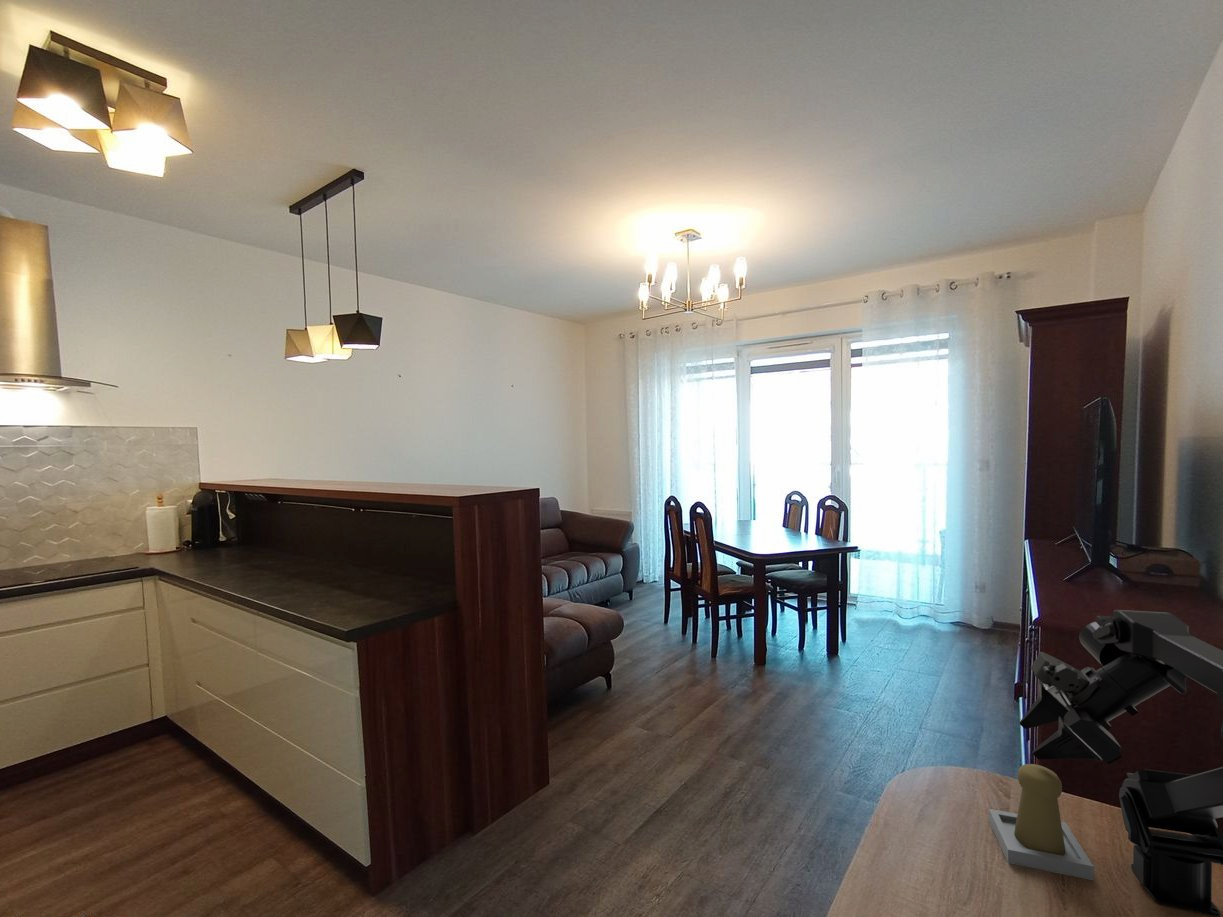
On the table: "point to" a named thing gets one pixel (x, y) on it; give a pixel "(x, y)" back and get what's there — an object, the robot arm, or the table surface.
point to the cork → (1039, 810)
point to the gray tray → (1018, 854)
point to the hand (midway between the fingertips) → (1028, 740)
